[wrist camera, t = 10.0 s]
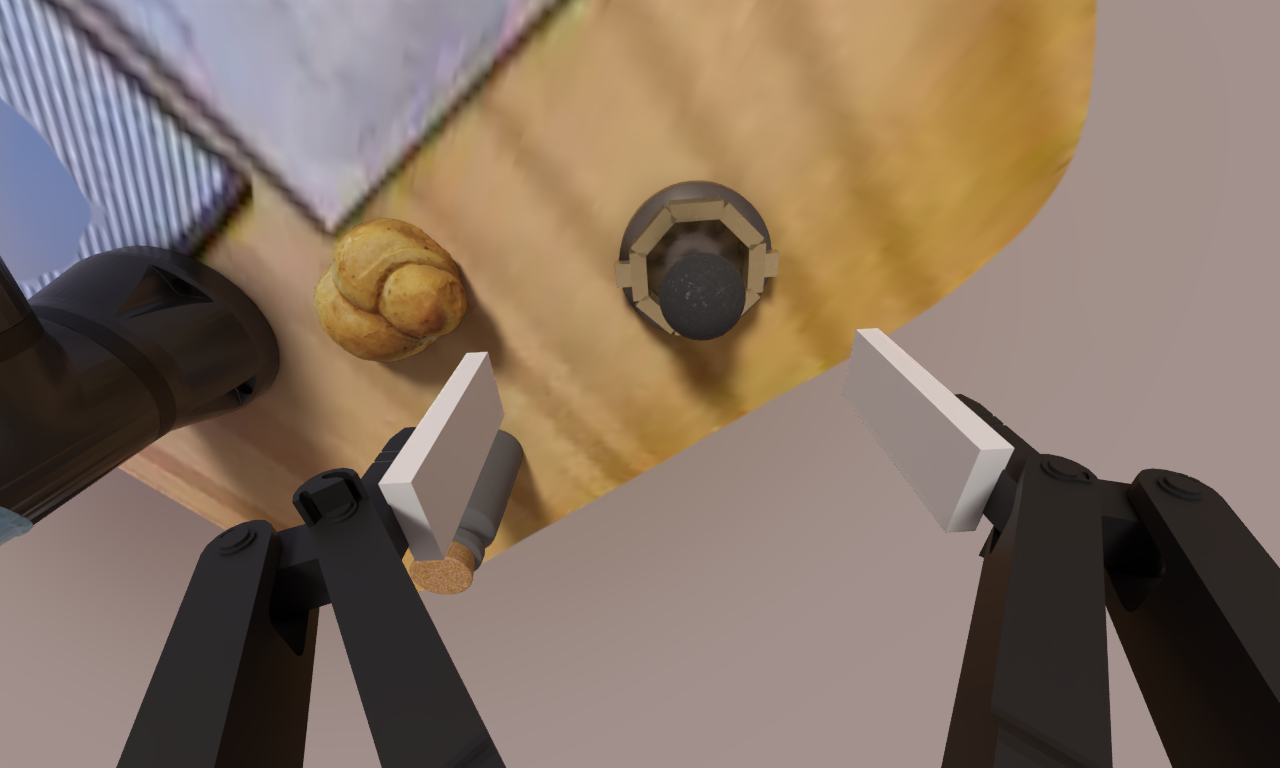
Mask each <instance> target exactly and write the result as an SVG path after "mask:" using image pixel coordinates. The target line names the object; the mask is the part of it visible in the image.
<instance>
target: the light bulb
mask: <svg viewBox="0 0 1280 768" xmlns="http://www.w3.org/2000/svg"><path fill="white" fill-rule="evenodd" d="M745 302H746V290H745V284H744V281H743V279H742V277H741V274H740V273H739V271H738V270H737V268H736V267H735V266H734V265H733V264H732V263H731V262H730V261H728V260H727V259H725V258H723V257H721V256H719V255H716V254H713V253H706V252H703V253H694V254H691V255H688V256H685V257H683V258H682V259H680V260H678V261H677V262H676V263H675V264H673V265H672V266H671V267H670V269H669V270H668V271H667V273H666V274H665V276H664V279H663V281H662V283H661V287H660V291H659V303H660V308H661V311H662V315H663V317H664V318H665V320H666V322H667V323H668V324H669V326H670V327H671V328H672V329H673V330H674V331H676V332H677V333H678V334H680V335H682V336H684V337H686V338H689V339H693V340H710V339H714V338H717V337H719V336H722V335H724V334H725V333H726V332H728V331H729V330H730V329H732V328H733V326H734V325H735V324H736V323H737V321H738V320H739V318H740V316H741V314H742V312H743V310H744V306H745Z"/></svg>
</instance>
